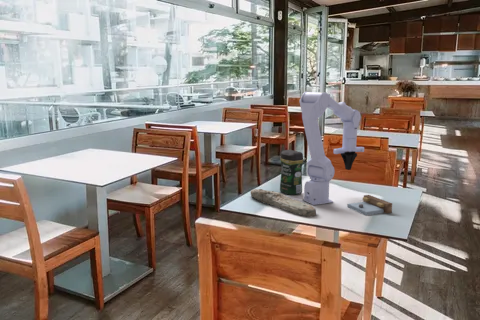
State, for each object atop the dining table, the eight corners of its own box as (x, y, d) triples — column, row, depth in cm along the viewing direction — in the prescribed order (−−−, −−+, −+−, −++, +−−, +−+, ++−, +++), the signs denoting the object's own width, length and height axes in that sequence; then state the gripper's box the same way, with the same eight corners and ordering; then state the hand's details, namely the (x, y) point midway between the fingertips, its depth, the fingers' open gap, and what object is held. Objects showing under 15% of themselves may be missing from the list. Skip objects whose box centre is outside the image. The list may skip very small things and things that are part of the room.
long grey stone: (302, 223, 153) (322, 219, 159) (304, 209, 152) (323, 205, 158) (243, 196, 180) (261, 193, 186) (244, 184, 179) (262, 182, 185)
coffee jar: (276, 191, 189) (277, 149, 186) (290, 188, 194) (291, 147, 190) (291, 196, 181) (292, 152, 178) (305, 193, 186) (306, 151, 182)
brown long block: (383, 213, 159) (383, 204, 158) (360, 204, 170) (360, 195, 170) (391, 212, 160) (392, 203, 160) (368, 203, 172) (368, 194, 171)
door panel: (365, 216, 157) (366, 209, 157) (347, 208, 167) (347, 201, 167) (383, 214, 160) (383, 206, 160) (364, 206, 170) (364, 199, 170)
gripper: (341, 140, 176) (339, 172, 179) (369, 138, 182) (367, 169, 184) (331, 137, 182) (329, 169, 185) (358, 136, 188) (357, 166, 191)
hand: (348, 169), depth 185 cm, fingers closed
